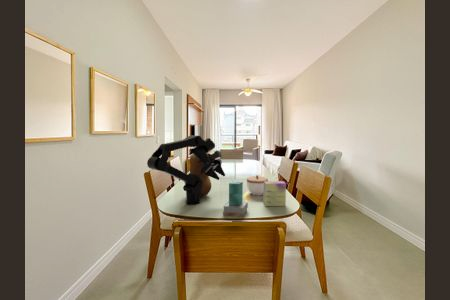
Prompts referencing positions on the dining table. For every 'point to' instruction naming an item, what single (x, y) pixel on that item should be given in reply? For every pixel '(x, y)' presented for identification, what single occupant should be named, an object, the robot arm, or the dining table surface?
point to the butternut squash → (200, 175)
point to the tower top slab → (236, 208)
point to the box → (274, 193)
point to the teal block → (235, 193)
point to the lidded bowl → (256, 185)
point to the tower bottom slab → (234, 214)
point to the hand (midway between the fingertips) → (222, 177)
